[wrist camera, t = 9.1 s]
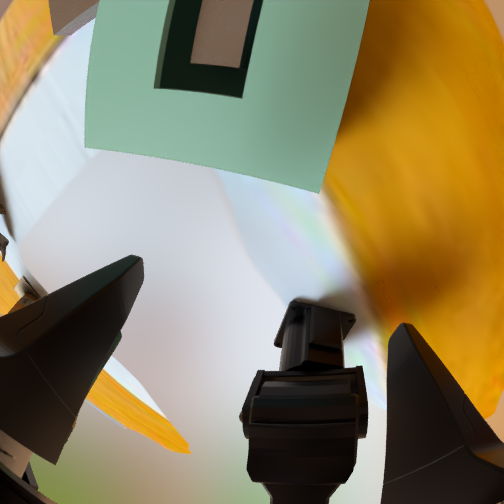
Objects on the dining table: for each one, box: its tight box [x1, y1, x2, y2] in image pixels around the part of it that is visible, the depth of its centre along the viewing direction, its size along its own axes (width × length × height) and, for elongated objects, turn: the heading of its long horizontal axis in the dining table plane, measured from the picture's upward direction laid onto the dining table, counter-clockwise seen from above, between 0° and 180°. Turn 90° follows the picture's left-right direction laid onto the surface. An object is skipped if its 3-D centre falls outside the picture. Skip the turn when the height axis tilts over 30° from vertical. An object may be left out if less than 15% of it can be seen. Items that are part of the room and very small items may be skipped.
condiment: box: [9, 277, 40, 313], centre depth 31 cm, size 7×8×12 cm
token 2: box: [190, 0, 263, 71], centre depth 12 cm, size 5×2×5 cm, turn 170°
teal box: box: [85, 0, 370, 194], centre depth 11 cm, size 14×12×7 cm
